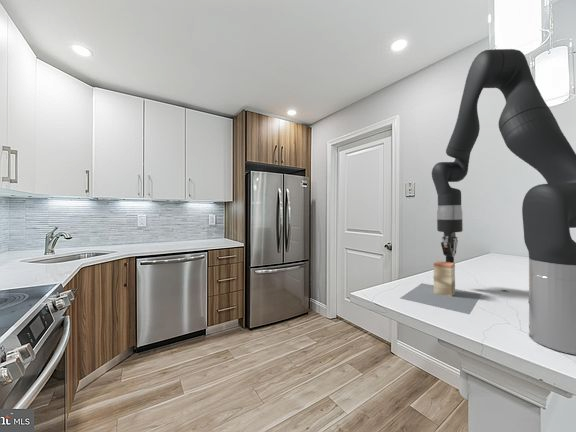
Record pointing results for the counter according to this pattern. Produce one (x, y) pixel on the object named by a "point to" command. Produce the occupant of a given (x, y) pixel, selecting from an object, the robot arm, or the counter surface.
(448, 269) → the birch block
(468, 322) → the counter surface
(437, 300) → the rubber mat
